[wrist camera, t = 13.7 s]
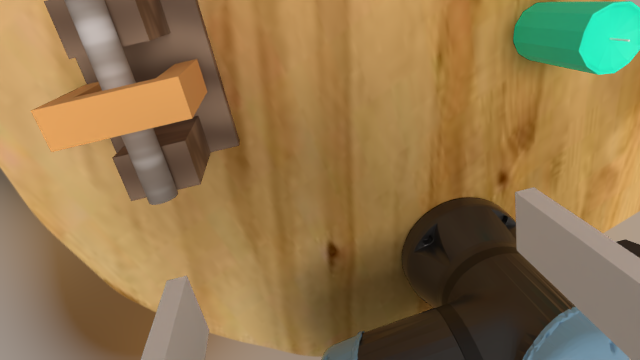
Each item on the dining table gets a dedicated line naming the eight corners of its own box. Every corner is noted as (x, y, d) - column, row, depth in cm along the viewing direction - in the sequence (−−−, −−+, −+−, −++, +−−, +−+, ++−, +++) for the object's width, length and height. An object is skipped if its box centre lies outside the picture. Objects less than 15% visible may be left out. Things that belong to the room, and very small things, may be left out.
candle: (563, -8, 44) (664, -11, 33) (568, 49, 47) (663, 63, 36) (509, 12, 44) (592, 15, 33) (516, 68, 47) (596, 88, 36)
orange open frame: (207, 91, 39) (192, 118, 30) (99, 116, 39) (51, 152, 30) (197, 58, 38) (178, 76, 29) (85, 84, 37) (30, 110, 28)
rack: (239, 141, 46) (233, 185, 34) (129, 167, 45) (86, 221, 34) (191, -20, 39) (164, -29, 28) (61, 9, 39) (-18, 11, 28)
